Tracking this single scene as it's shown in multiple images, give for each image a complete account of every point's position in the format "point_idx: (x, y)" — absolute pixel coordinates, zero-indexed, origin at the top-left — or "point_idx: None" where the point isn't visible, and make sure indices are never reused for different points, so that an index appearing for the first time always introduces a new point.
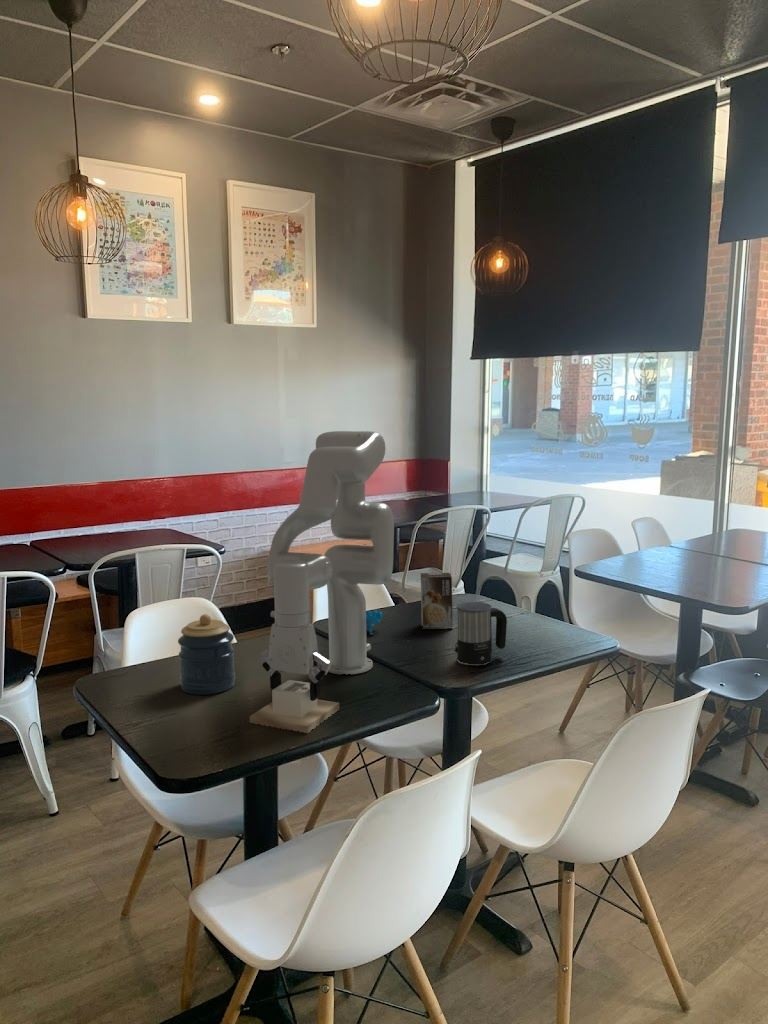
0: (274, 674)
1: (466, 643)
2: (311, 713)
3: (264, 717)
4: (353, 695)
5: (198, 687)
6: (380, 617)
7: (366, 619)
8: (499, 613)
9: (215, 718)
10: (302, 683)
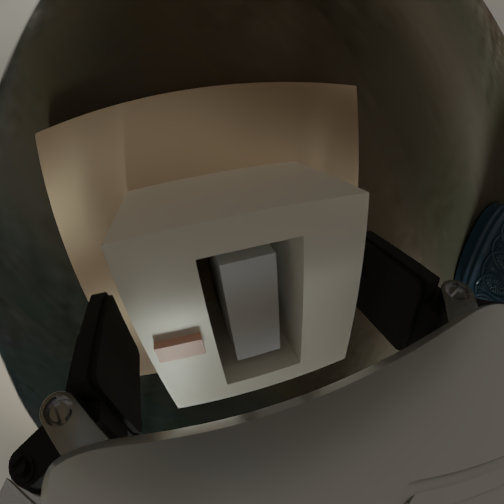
0: (431, 310)
1: None
2: None
3: (294, 94)
4: (181, 418)
5: (500, 211)
6: None
7: None
8: None
9: (433, 92)
10: (254, 377)
